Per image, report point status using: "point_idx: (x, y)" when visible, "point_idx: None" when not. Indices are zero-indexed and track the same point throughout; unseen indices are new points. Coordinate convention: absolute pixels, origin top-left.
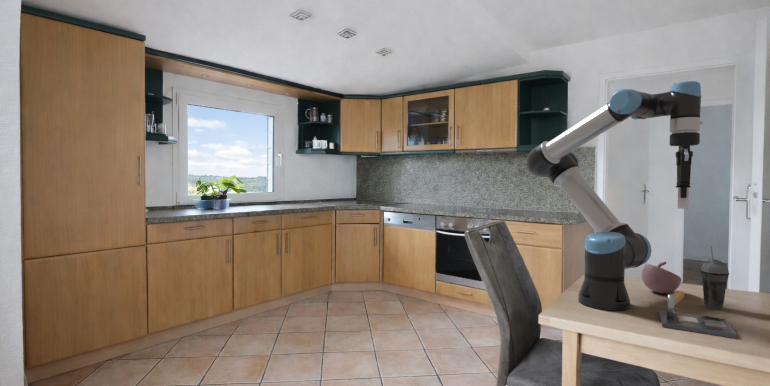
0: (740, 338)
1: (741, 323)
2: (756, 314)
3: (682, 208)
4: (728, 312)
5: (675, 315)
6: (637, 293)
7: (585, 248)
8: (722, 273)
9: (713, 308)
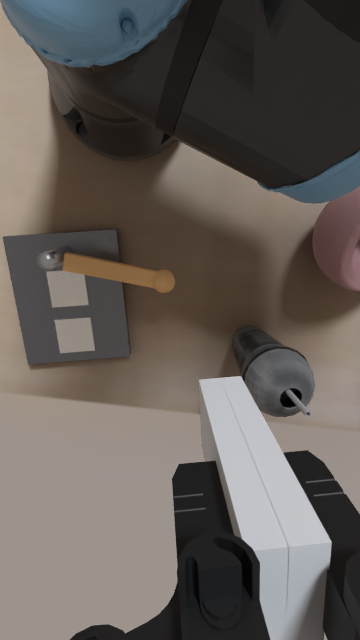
0: (37, 366)
1: (149, 378)
2: None
3: (201, 412)
4: (224, 365)
5: None
6: None
7: None
8: None
9: (232, 341)
